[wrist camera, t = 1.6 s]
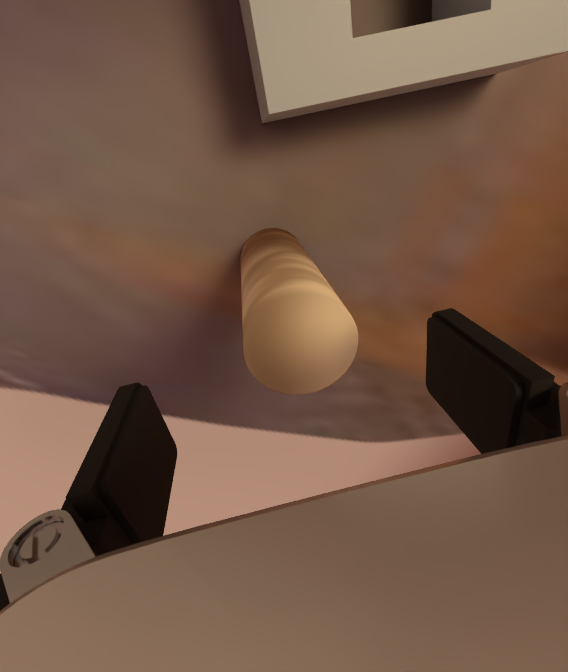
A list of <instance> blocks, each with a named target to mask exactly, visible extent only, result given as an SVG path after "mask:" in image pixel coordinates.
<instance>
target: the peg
mask: <svg viewBox="0 0 568 672" xmlns="http://www.w3.org/2000/svg"><path fill="white" fill-rule="evenodd" d="M241 291H242V323H243V352H244V359H245V362H246V365H247V367H248V369H249V371H250V373H251V374H252V375H253V376H254V378H255V379H256V380H257V381H258V382H260V383H261V384H262V385H264V386H265V387H267V388H269V389H271V390H274V391H276V392H280V393H284V394H294V395H298V394H307V393H312V392H315V391H318V390H321V389H323V388H325V387H327V386H329V385H331V384H332V383H334V382H335V381H337V380H338V379H339V378H340V377H341V376H342V375H343V374H344V373H345V372H346V371H347V369H348V368H349V367H350V365H351V364H352V362H353V360H354V358H355V355H356V352H357V348H358V331H357V327H356V324H355V321H354V319H353V317H352V316H351V314H350V313H349V311H348V310H347V309H346V307H345V306H344V304H343V303H342V302H341V300H340V299H339V297H338V296H337V295H336V293H335V292H334V290H333V289H332V288H331V286H330V285H329V283H328V282H327V281H326V279H325V278H324V276H323V275H322V274H321V272H320V271H319V269H318V268H317V267H316V265H315V264H314V262H313V261H312V260H311V258H310V257H309V255H308V254H307V253H306V251H305V250H304V248H303V247H302V246H301V244H300V243H299V241H298V240H297V239H296V238H295V237H294V236H293V235H292V234H290V233H289V232H287V231H285V230H282V229H277V228H269V229H264V230H261V231H259V232H257V233H255V234H254V235H252V236H251V237H250V238H249V239H248V240H247V242H246V243H245V245H244V247H243V249H242V253H241Z"/></svg>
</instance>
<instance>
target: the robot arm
mask: <svg viewBox="0 0 568 672" xmlns="http://www.w3.org/2000/svg"><path fill="white" fill-rule="evenodd" d="M554 378H555V376H554V375H552V374H551V373H549V372H548V371H546V370H545V369H543V368H542V367H540V366H539V365H537V364H536V363H534V362H533V361H531V360H530V359H528V358H527V357H525V356H524V355H522V354H521V353H519V352H518V351H516V350H515V349H513V348H512V347H510V346H509V345H507V344H506V343H504V342H503V341H501V340H500V339H498V338H497V337H495V336H494V335H492V334H491V333H489V332H488V331H486V330H485V329H483V328H482V327H480V326H479V325H477V324H476V323H474V322H473V321H471V320H470V319H468V318H467V317H465V316H464V315H462V314H461V313H459V312H458V311H456V310H455V309H452V308H450V309H446V310H442V311H437V312H434V313H433V314H432V317H431V318H429V319H428V322H427V360H426V386H427V389H428V391H429V393H430V394H431V395H432V397H433V398H434V399H435V400H436V401H437V402H438V404H439V405H440V406H441V407H442V408H443V409H444V411H445V412H446V413H447V414H448V415H449V416H450V418H451V419H452V420H453V421H454V422H455V423H456V425H457V426H458V427H459V428H460V429H461V430H462V432H463V433H464V434H465V435H466V436H467V437H468V438H469V440H470V441H471V442H472V443H473V444H474V446H475V447H476V448H477V449H478V450H479V451H480V452H481V454H480V455H476V456H472V457H468V458H464V459H460V460H456V461H452V462H448V463H444V464H440V465H436V466H432V467H428V468H424V469H420V470H416V471H412V472H408V473H404V474H400V475H395V476H392V477H388V478H384V479H380V480H376V481H372V482H368V483H364V484H360V485H356V486H352V487H348V488H345V489H340V490H336V491H332V492H329V493H325V494H321V495H317V496H313V497H309V498H305V499H302V500H298V501H293V502H290V503H286V504H282V505H278V506H274V507H270V508H266V509H263V510H259V511H255V512H251V513H248V514H243V515H240V516H236V517H232V518H228V519H225V520H220V521H217V522H213V523H209V524H205V525H202V526H197V527H194V528H190V529H187V530H183V531H179V532H176V533H172V534H169V535H165V536H163V533H164V527H165V521H166V516H167V510H168V504H169V498H170V492H171V487H172V482H173V476H174V469H175V465H176V459H177V448H176V444H175V442H174V440H173V438H172V436H171V434H170V432H169V430H168V427H167V425H166V423H165V421H164V419H163V417H162V415H161V413H160V411H159V409H158V407H157V405H156V402H155V400H154V398H153V396H152V394H151V392H150V390H149V388H148V387H147V386H146V385H145V386H142V385H141V384H140V383H134V384H130V385H125V386H121V387H119V389H118V390H117V392H116V394H115V397H114V399H113V401H112V403H111V405H110V407H109V409H108V411H107V413H106V416H105V417H104V419H103V421H102V423H101V426H100V428H99V430H98V432H97V434H96V436H95V438H94V440H93V442H92V444H91V446H90V448H89V450H88V452H87V455H86V457H85V459H84V461H83V463H82V465H81V467H80V469H79V471H78V473H77V475H76V477H75V479H74V481H73V483H72V486H71V487H70V490H69V492H68V494H67V496H66V500H65V502H64V504H63V506H62V508H61V510H53V511H49V512H47V513H44V514H41V515H39V516H38V517H36V518H34V519H33V520H31V521H30V522H28V523H27V524H26V525H25V526H23V527H22V528H21V529H20V530H19V531H18V532H17V533H16V534H15V535H14V536H13V537H12V538H11V540H10V541H9V542H8V544H7V546H6V547H5V548H4V550H3V552H2V555H1V558H0V571H1V574H0V672H568V382H567V383H564V384H563V385H562V386H559V385H558V384H556V383H555V382H554Z"/></svg>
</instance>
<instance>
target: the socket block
mask: <svg viewBox="0 0 568 672" xmlns="http://www.w3.org/2000/svg"><path fill="white" fill-rule="evenodd" d="M239 2H240V8H241V13H242V18H243V24H244V29H245V35H246V40H247V45H248V51H249V56H250V62H251V67H252V72H253V78H254V83H255V89H256V94H257V99H258V105H259V110H260V116H261V121H262V123H267V122H271V121H276V120H281V119H285V118H290V117H295V116H299V115H304V114H309V113H314V112H318V111H323V110H328V109H332V108H337V107H342V106H347V105H351V104H356V103H361V102H365V101H370V100H375V99H379V98H384V97H389V96H394V95H398V94H403V93H408V92H412V91H417V90H422V89H426V88H431V87H436V86H441V85H445V84H450V83H455V82H459V81H464V80H469V79H474V78H478V77H483V76H488V75H492V74H497V73H500V72H503V71H506V70H510V69H513V68H516V67H519V66H522V65H525V64H529V63H532V62H535V61H538V60H541V59H544V58H548V57H551V56H554V55H557V54H560V53H564V52H567V51H568V0H432V22H428V23H424V24H419V25H414V26H409V27H404V28H400V29H395V30H390V31H385V32H381V33H376V34H371V35H366V36H361V37H357V38H353V37H352V22H351V7H350V0H239Z"/></svg>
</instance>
